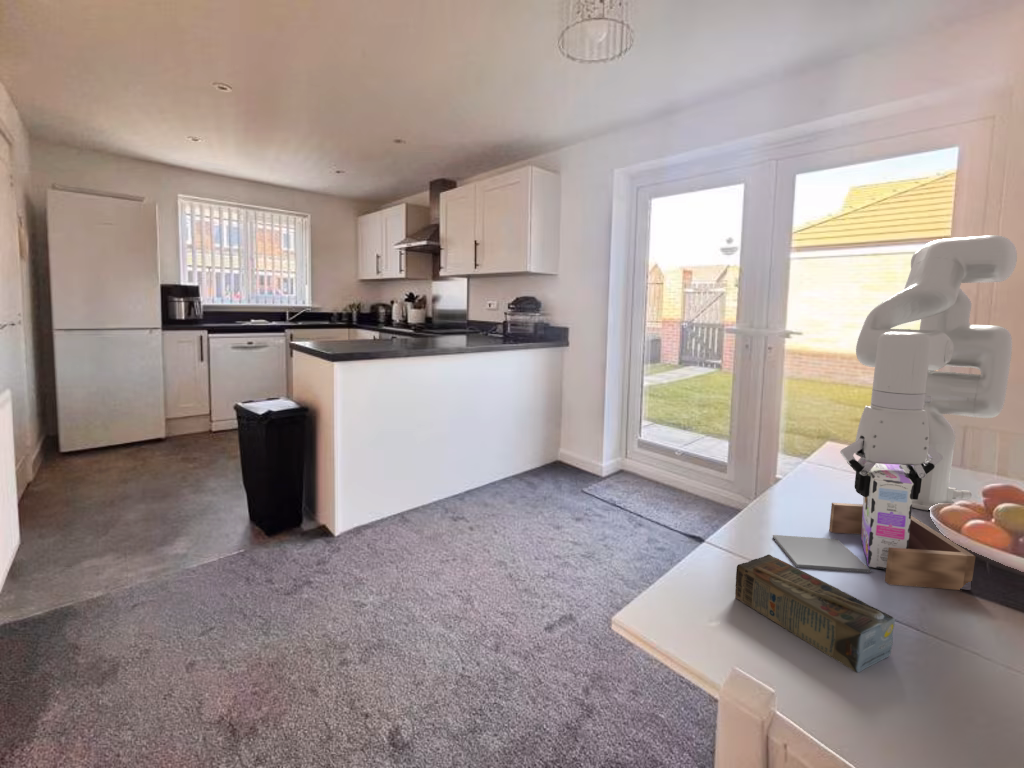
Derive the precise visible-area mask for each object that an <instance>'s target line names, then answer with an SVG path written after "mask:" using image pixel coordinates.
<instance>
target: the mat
mask: <svg viewBox="0 0 1024 768" xmlns="http://www.w3.org/2000/svg"><path fill="white" fill-rule="evenodd" d="M773 538H774V539H775V540H776V541H775V540H774V539H773ZM772 539H773V540H774V541H775V542H776V543H778V544H777V545H778V546H779V548H780V549H782V551H783V552H784V553H785V555H786V556H787V557H788V558H789V560H790V561H791V562H792V563H793V564H794V567H795V568H798V569H801V568H802V569H813V570H814V569H815V570H829V571H842V572H852V573H853V572H854V573H856V572H857V573H868V574H869V573H871V571H872V570H871V569H870V568H871V567H868V565H867V564H866V563H865V562H863V561H862V560H861V559H860V558H859V557H858V556H856V554H854V553H853V552H852V551H851V550H850V549H849V548H848V547H847V546H845V544H843V542H841V541H840V540H839V539H838V538H829V537H828V538H825V537H812V536H811V537H810V536H797V535H796V536H794V535H793V536H792V535H782V534H781V535H779V534H773V535H772Z"/></svg>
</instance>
